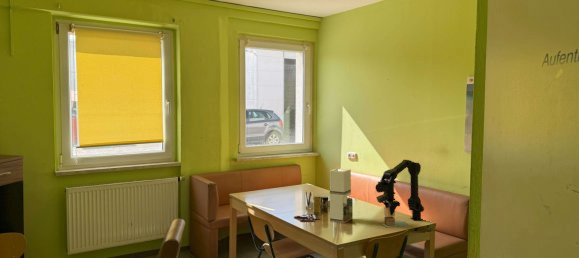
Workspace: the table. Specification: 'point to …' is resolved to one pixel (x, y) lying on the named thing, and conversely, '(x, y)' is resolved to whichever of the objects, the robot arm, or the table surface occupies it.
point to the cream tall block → (339, 194)
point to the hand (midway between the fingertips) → (389, 214)
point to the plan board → (397, 224)
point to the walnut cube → (389, 221)
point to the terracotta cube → (388, 212)
